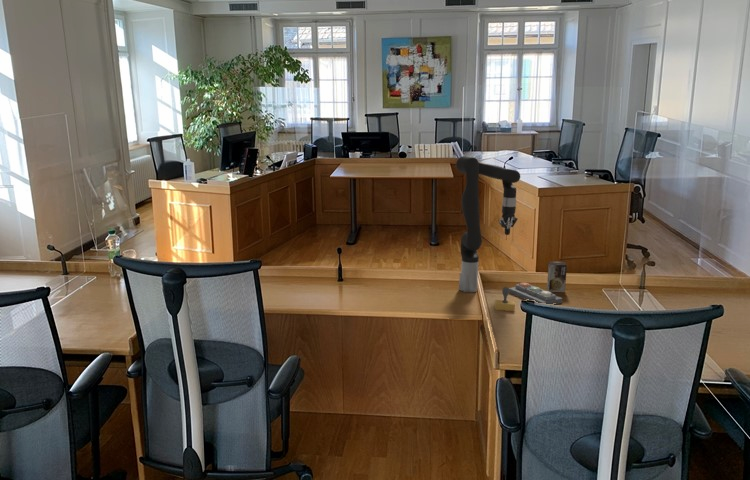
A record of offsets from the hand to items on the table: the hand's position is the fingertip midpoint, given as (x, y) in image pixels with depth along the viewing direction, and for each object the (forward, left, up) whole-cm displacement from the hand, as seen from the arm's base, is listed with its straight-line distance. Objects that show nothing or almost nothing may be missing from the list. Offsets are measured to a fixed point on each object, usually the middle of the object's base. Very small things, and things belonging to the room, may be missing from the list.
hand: (507, 234), depth 353 cm
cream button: (-2, -35, -26) cm, 44 cm away
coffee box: (+17, -24, -29) cm, 41 cm away
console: (-2, -27, -29) cm, 40 cm away
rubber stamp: (-28, -32, -29) cm, 52 cm away
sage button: (-2, -27, -26) cm, 38 cm away
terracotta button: (-2, -19, -26) cm, 32 cm away
